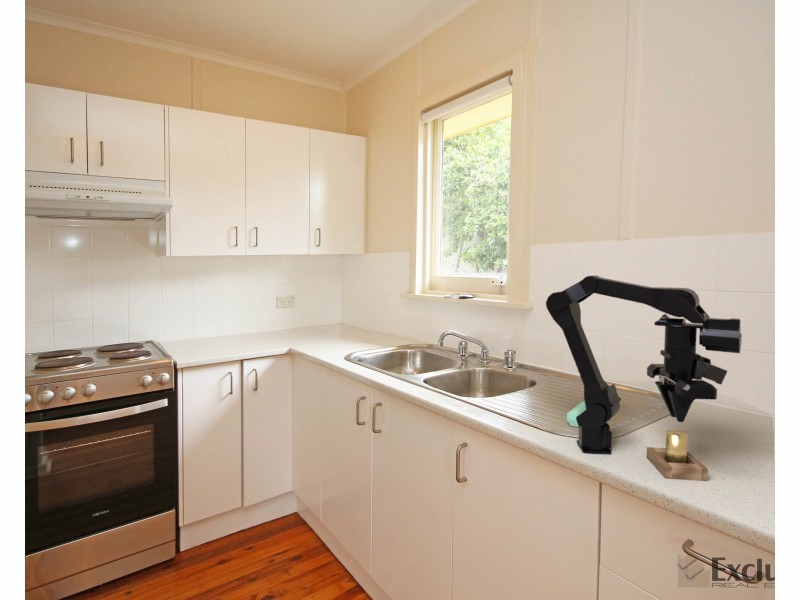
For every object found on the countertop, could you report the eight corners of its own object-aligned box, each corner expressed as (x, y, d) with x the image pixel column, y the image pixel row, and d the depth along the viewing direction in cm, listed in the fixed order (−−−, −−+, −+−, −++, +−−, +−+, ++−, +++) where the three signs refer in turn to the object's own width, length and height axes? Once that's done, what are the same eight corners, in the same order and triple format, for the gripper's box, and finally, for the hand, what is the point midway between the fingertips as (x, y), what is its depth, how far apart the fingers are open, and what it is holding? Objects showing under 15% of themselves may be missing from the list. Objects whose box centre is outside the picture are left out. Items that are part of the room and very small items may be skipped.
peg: (669, 472, 96) (670, 436, 95) (661, 463, 100) (662, 429, 99) (689, 473, 95) (691, 437, 94) (680, 464, 99) (682, 429, 98)
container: (579, 407, 120) (607, 385, 139) (559, 411, 124) (588, 389, 143) (587, 429, 119) (614, 404, 138) (567, 432, 123) (595, 407, 142)
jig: (665, 478, 93) (665, 466, 93) (646, 457, 103) (646, 447, 103) (707, 480, 92) (707, 469, 92) (684, 459, 102) (684, 448, 101)
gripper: (749, 357, 85) (745, 437, 86) (698, 340, 103) (696, 406, 104) (685, 356, 86) (682, 435, 88) (647, 339, 105) (645, 405, 106)
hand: (677, 419), depth 96 cm, fingers open, 3 cm apart
